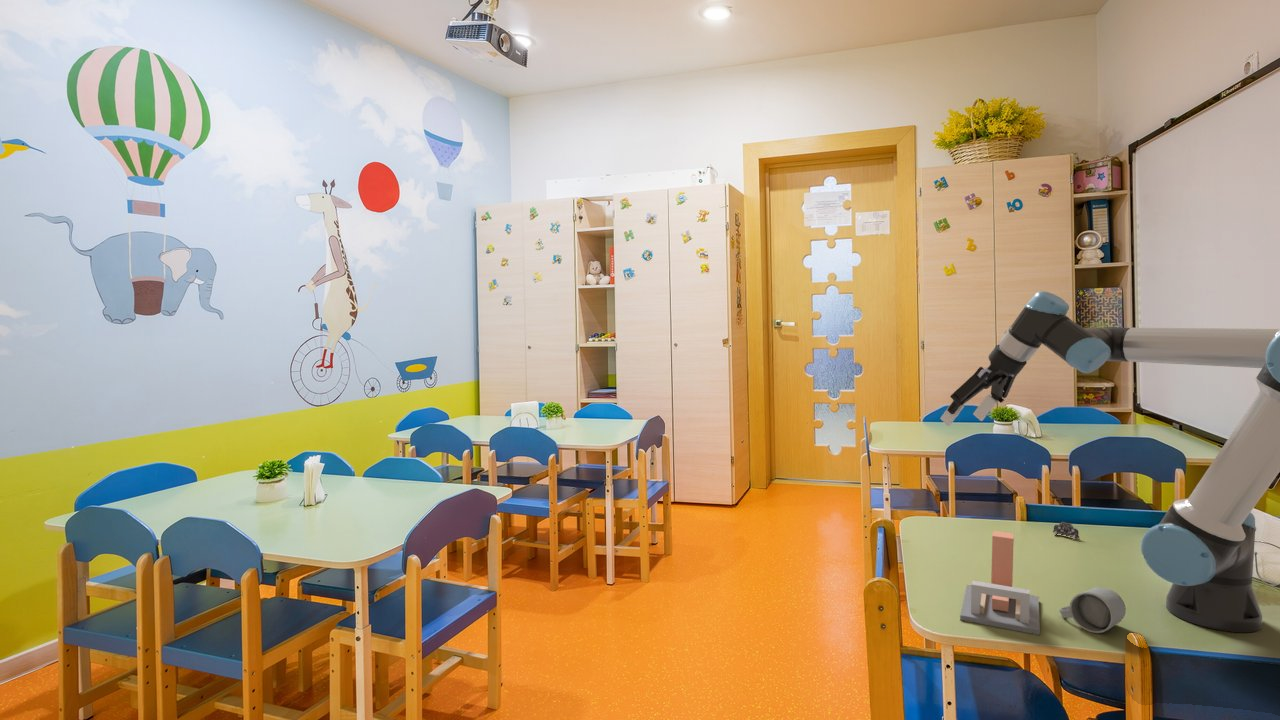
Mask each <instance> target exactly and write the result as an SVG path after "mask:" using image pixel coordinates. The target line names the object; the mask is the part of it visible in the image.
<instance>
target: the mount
mask: <svg viewBox="0 0 1280 720" xmlns="http://www.w3.org/2000/svg"><path fill="white" fill-rule="evenodd" d="M992 595H994V596H1000V597H1006V598H1009V608H1008V612H1006V611H1000V610H995V609H992ZM1039 603H1040V601H1039V596H1037V595H1031V589H1026V588H1021V587H1016V586H1015V587H1014V586H1012V587H1009V586H1003V585H997V584H991V582H984V581H977V580H972V581H971V584H966V588H965V593H964V598H963V603H962V605H961V606H962V607H961V611H960V614H959V617H960V618H959V621H963V620H965V621H964V622H968V621H970V622H969V623H974V622H975V624H980V625H986V626H990V627H996V628H1000V629H1006V630H1011V631H1017V632H1021V633H1028V634H1032V633H1033V635H1038V636H1040V633H1041V632H1040V631H1041V630H1040V627H1041V626H1040V606H1039V605H1040V604H1039Z"/></svg>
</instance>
